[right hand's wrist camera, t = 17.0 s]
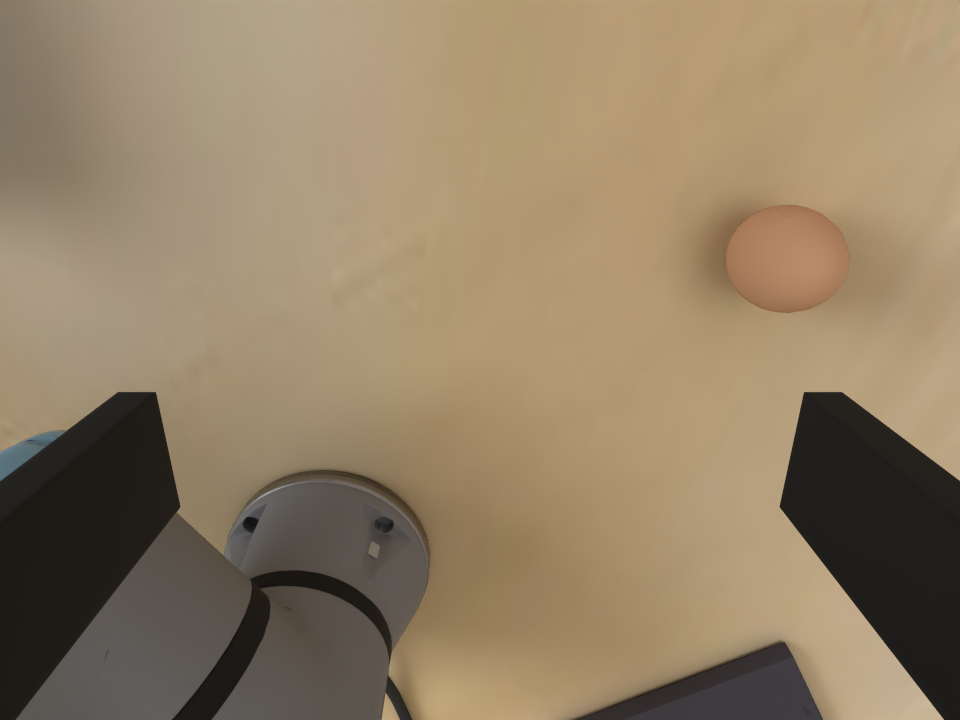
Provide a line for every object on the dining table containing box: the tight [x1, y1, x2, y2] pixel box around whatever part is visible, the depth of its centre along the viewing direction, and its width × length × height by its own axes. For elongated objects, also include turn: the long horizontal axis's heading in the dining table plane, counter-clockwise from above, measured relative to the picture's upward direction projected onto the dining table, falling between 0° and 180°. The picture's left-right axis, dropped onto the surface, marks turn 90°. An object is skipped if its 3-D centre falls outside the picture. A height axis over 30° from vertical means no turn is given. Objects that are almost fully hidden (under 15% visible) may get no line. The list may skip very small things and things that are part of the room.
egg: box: [726, 205, 849, 313], centre depth 35 cm, size 6×6×8 cm
